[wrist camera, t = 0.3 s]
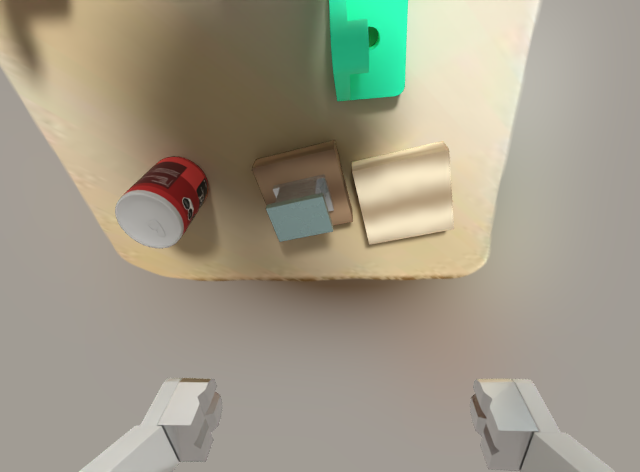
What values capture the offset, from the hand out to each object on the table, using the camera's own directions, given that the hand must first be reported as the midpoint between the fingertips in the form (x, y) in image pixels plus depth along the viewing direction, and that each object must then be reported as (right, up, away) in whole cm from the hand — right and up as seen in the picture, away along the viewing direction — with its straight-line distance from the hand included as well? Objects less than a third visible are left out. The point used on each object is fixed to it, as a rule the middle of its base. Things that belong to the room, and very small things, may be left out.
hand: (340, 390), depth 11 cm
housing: (-3, +10, +36) cm, 38 cm away
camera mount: (+5, +27, +28) cm, 39 cm away
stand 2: (+11, +11, +38) cm, 41 cm away
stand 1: (-3, +12, +38) cm, 40 cm away
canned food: (-20, +13, +39) cm, 46 cm away
